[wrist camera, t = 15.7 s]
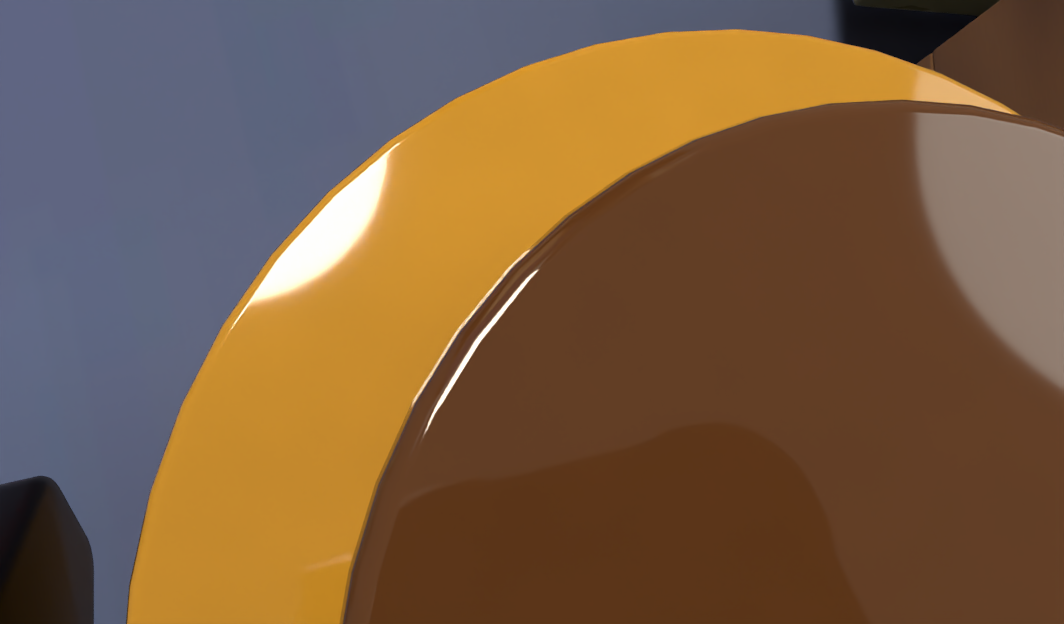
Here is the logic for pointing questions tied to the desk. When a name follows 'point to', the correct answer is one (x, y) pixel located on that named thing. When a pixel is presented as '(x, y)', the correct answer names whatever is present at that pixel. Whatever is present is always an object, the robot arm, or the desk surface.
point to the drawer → (1002, 51)
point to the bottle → (645, 361)
